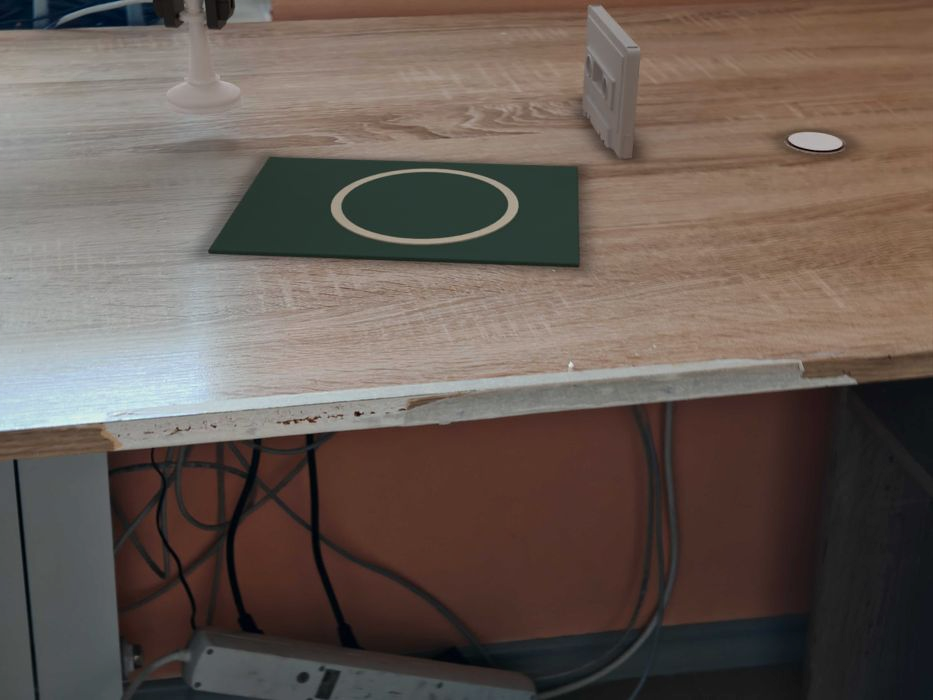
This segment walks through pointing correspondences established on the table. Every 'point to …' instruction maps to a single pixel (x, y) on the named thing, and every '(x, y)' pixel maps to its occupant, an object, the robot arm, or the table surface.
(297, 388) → the table surface
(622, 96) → the cassette
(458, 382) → the table surface
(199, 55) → the chess piece
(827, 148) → the white rimmed disc
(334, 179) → the desk mat
